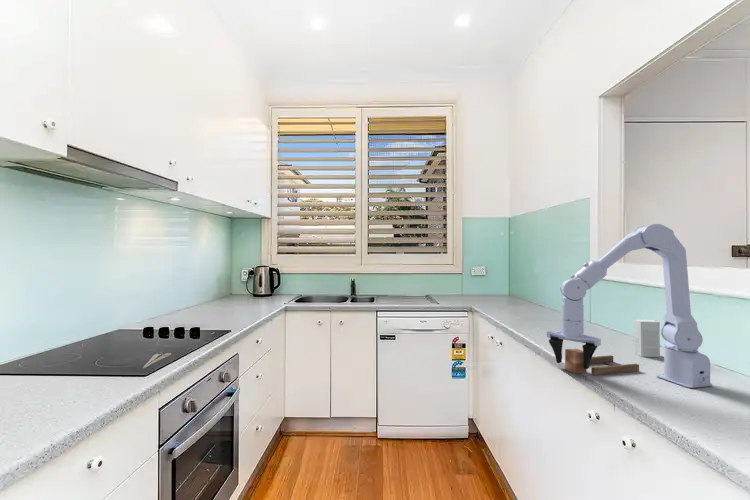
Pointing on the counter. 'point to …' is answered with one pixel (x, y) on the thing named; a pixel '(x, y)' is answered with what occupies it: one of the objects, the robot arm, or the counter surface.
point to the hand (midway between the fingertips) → (572, 365)
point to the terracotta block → (574, 361)
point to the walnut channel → (611, 366)
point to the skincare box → (647, 338)
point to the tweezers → (157, 358)
